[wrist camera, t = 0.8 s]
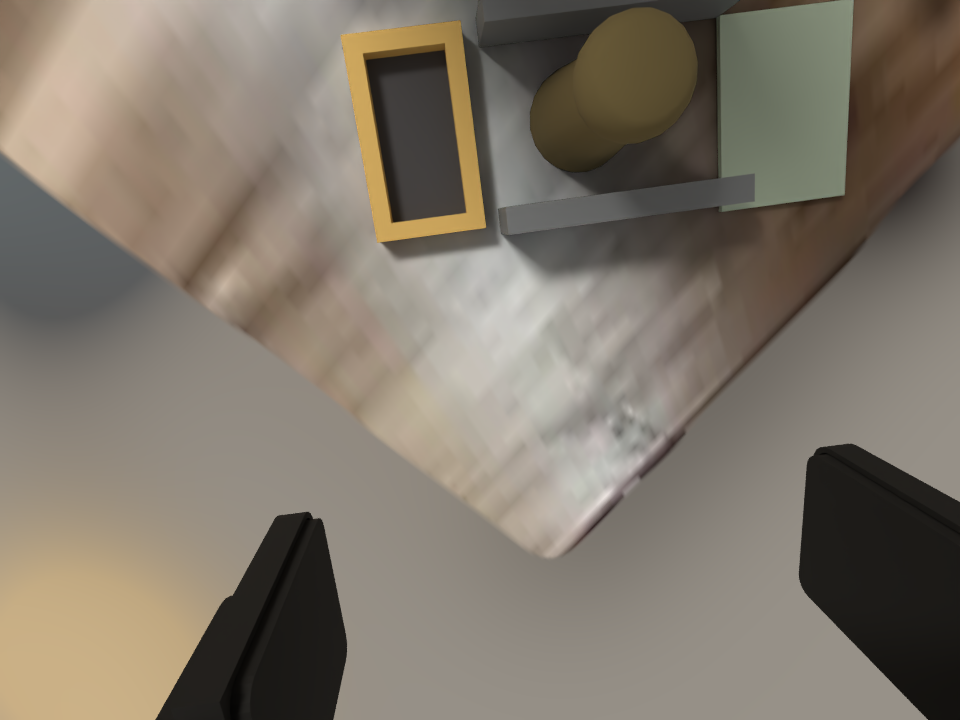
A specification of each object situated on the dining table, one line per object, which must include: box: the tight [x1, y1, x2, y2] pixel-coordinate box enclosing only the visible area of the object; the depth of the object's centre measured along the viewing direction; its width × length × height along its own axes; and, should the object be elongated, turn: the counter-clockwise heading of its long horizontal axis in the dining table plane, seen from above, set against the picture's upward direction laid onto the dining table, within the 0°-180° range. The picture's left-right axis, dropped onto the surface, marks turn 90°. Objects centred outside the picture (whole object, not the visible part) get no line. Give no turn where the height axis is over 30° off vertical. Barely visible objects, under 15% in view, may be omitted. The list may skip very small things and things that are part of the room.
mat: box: [716, 0, 854, 212], centre depth 32 cm, size 11×8×1 cm
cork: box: [530, 7, 698, 172], centre depth 26 cm, size 6×6×11 cm
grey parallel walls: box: [476, 0, 755, 235], centre depth 30 cm, size 12×14×4 cm
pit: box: [341, 20, 486, 243], centre depth 31 cm, size 11×6×2 cm, turn 7°
